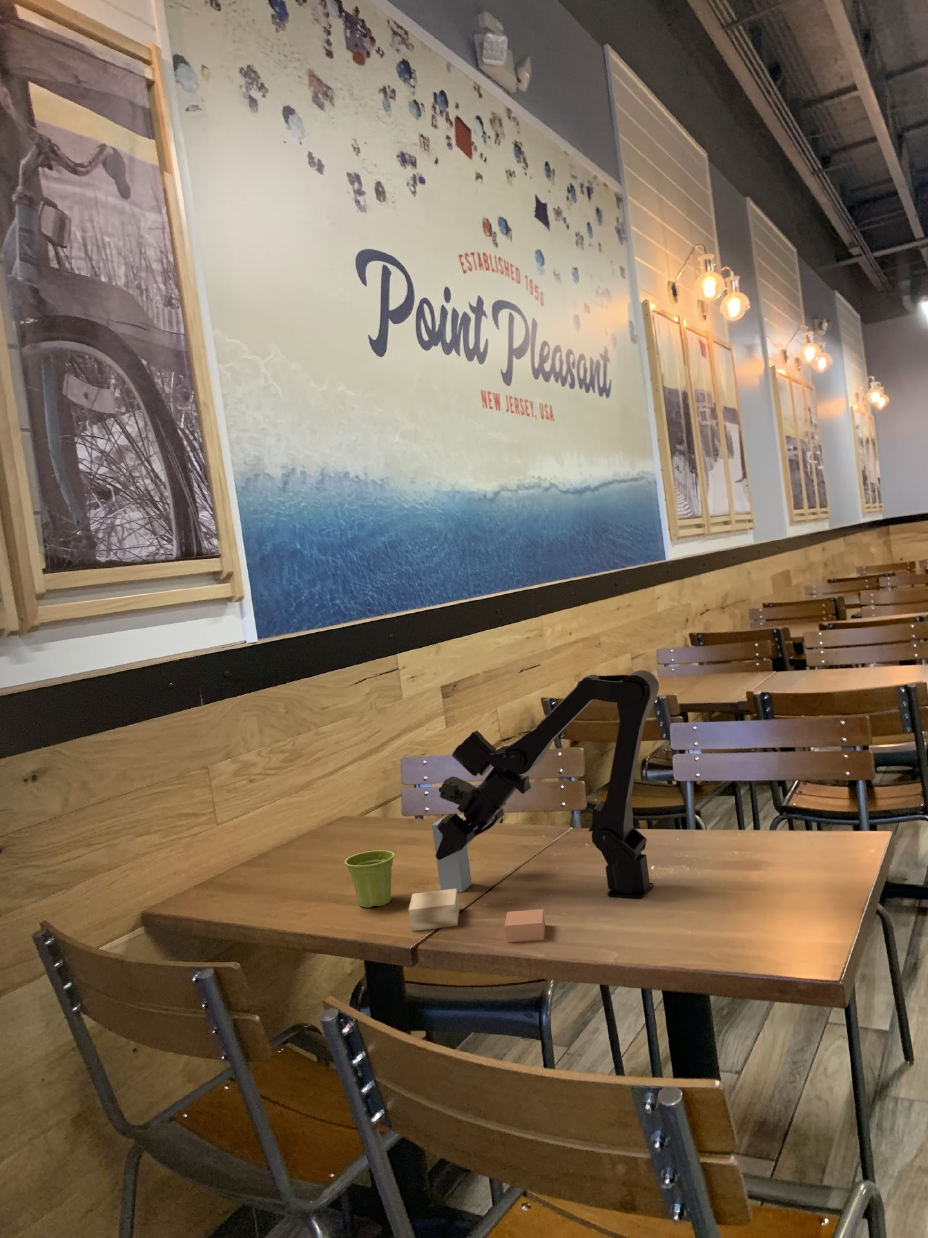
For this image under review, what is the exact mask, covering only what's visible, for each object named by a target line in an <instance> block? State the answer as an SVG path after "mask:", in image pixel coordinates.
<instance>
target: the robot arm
mask: <svg viewBox="0 0 928 1238" xmlns="http://www.w3.org/2000/svg"><path fill="white" fill-rule="evenodd" d="M659 690H660V683H659V681H658V679H657V678H656V676H655V675H654V674H653V673H652V672H650V671H648V670H642V669H640V670H634V671H633V672H632V673H631V674H615V675H614V674H611V675H610V674H609V675H599V674H598V675H597V674H589V675H587V676H585V677H583V678H581V679H579V681H578V683H577V684H576V685H575V687H573V689H572V690H571V691H569V693H568V694H566V696H565V697H564V698H563V699H562V700H561V701H560V702H559V703H558V704H557V705H556V706H555V707H554V708H553V709H552V710H551V711H550V712H549V713H548V714H547V716H545V717H544V719H543V720H541V722H539V724H537V725H536V726H535V727H534V728H532V729H531V730H530V731H528V732H527V733H525V734H524V735H522V736H521V737H519V738H517V739H516V740H515V741H513V742H512V743H510V744H509V745H505V746H504V745H503V746H501V747H499V748H496V747H495V746H493V744H492V743H491V742H489V741H488V739H486V738H485V737H484V736H483V735H482V733H481V732H479V730H474V731H472V732H471V733H470V735H469V736H468V737H466V738H465V739H464V740H463V741H462V743H461V744H459V745H457V747H456V748H455V749H454V750H453V752H452V753H451V757H452V758H453V759H454V760H455V761H457V762H458V763H459V764H460V765H461V766H462V767H463V769H465V770H466V771H467V772H468V773H470V775H472V777H477V776H478V775H479V776H480V777H484V776H485V775H486V774H487V773H488V772H489V773H488V774H487V776H486V777H485V778H484V779H483V781H482V782H481V783H480V784H479V785H478V786H477V787H476V786H475V785H473V784H472V783H470V782H468V781H465V780H464V779H461V778H459V777H457V776H450V777H448V778H446V779H444V780H443V783H441V786H440V787H439V788H438V792H439V797H440V798H441V799H442V800H445V801H448V802H450V803H452V804H455V805H457V806H458V807H456V809H457V810H458V811H459V812H460V813H462V814H463V817H461V816H460V815H458V813H449V814H448V815H446V816H445V817H442V818H443V819H442V820H441V822H440V823H439V824H438V826H437V828H438V830H439V831H440V832H441V833H442V840H441V843H440V845H439V848H438V851H437V853H436V852H435V858H436V860H437V859H438V860H441V859H443V858H445V857H447V856H449V855H451V854H453V853H455V852H458V851H460V850H462V849H464V848H465V847H466V846H467V847H468V846H469V845H470V843H471V842H472V841H473V840H474V839H475V837H477V836H479V835H480V834H482V833H484V832H485V831H488V830H490V829H491V828H492V827H494V826H495V825H496V824H498V822H500V821H501V819H502V818H503V817H504V816H505V812H504V808H505V806H506V805H507V801H508V800H509V799H510V798H511V796H512V795H513V794H514V793H515V792H516V790H517V791H518V792H519V793H521V794H523V795H524V794H526V793H527V792H528V791H529V790H531V789H532V787H531V783H530V776H529V775H524V774H526V773H528V772H529V771H530V770H532V769H533V768H534V767H537V765H539V764H540V763H541V761H543V759H544V758H545V756H546V754H547V753H548V751H550V749H551V748H550V747H551V746H552V744H553V742H554V741H555V740H556V738H557V737H558V736H559V735H560V734H561V733H562V732H563V731H564V730H565V729H566V728H567V727H568V726H569V725H570V724H571V723H572V722H573V721H574V720H575V719H576V718H577V717H578V716H579V715H580V714H581V713H582V712H583V711H584V709H586V708H587V707H588V706H589V705H590V704H591V703H592V702H593V701H601V702H606V703H616V709H617V714H618V720H619V723H618V724H619V725H618V729H617V730H618V731H617V735H616V736H617V737H616V742H615V747H614V753H613V759H612V764H611V771H610V775H609V781H608V782H609V783H608V788H607V792H606V799H605V800H601V801H600V802H599V803H598V804H597V805H596V806H594V807H593V809H592V814H591V815H592V816H591V817H592V818H591V819H592V820H591V826H590V828H589V829H588V832H591V841H592V843H593V844H594V846H595V848H596V849H598V851H600V852H601V854H602V856H603V858H604V860H605V862H606V864H607V865H606V866H605V867H604V868H605V874H606V882H607V888H608V890H609V891H607V893H606V894H607V896H608V897H618V898H631V899H634V898H635V899H642V898H643V897H645V895H647V893H648V892H650V890H651V889H652V888H653V887H655V884H654V882H650V876H649V874H650V873H649V866H648V859H647V858H648V857H647V854H643V853H642V852H643V851H644V850H645V849H646V845H647V841H648V839H647V837H645V836H644V835H643V833H641V832H640V831H639V830H637V829H636V828H635V827H634V825H633V824H634V821H633V820H634V812H633V808H632V799H631V798H632V794H633V789H634V781H635V777H636V771H637V767H638V761H639V755H640V749H641V744H642V739H643V733H644V728H645V723H646V722H647V720H648V717H649V715H650V713H651V711H652V708H653V706H654V704H655V701H656V699H657V696H658V693H659ZM492 767H493V768H492ZM491 768H492V769H491ZM490 769H491V770H490ZM489 770H490V771H489ZM462 818H463V819H462ZM464 818H465V819H464Z"/></svg>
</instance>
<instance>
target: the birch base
mask: <svg viewBox="0 0 928 1238" xmlns="http://www.w3.org/2000/svg"><path fill="white" fill-rule="evenodd" d="M408 916H409V923H410V924H409V925H410V931H411V932H415V931H423V930H425V931H426V930H432V929H440V928H448V927H449V928H450V927H457V926H459V916H460V905H459V895H458V892H457V888H456V889H448V890H441V889H440V890H434V891H433V890H432V891H425V892H418V893H417V892H415V893H412V895H411V898H410V903H409V906H408Z"/></svg>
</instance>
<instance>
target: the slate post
mask: <svg viewBox="0 0 928 1238" xmlns="http://www.w3.org/2000/svg"><path fill="white" fill-rule="evenodd" d="M443 818H444V817H442V818H440V819H438V820H437V821H435V822H434V823H433V824H431V828H432V834H433V842H434V843H433V844H434V851H435V854H436V853H437V851H438V848H439V845H440V843H441V840H442V833H441V832H440V831H439V830H438V828H437V826H438V824H439V823H440V822H441V820H442V819H443ZM461 818H462V819H463V820H464V817H461ZM468 852H469V851H468V846H466V847H465V848H464V849H462V850H460V851H458V852H455V853H453V854H451V855H449V856H447V857H445V858H443V859H441V860H438V859H437V858H436V865H437V872H438V873H437V874H438V879H439V886H440V890H448V889H456V888H457V893H463V892H464V891H465V890H467V889H468V888H469V887H470V886H471V885H472V884H473V883H472V874H471V867H470V859H469V853H468Z"/></svg>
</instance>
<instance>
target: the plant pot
mask: <svg viewBox="0 0 928 1238" xmlns="http://www.w3.org/2000/svg"><path fill="white" fill-rule="evenodd" d="M394 858H395V853H394V852H392V851H390V850H383V849H381V850H380V849H379V850H378V849H377V850H369V851H363V852H359V853H356V854H353V855H351V856H348V857H347V858H346V859H345V860H344V865H345V866H346V867H347V869H348V872H349V873H350V875H351V879H352V883H353V887H354V891H355V894H356V898H357V902H358V905H359V906H360V907H362V908H367V909H368V908H372V907H375V906H376V907H383V906H384V905H387V904H389V903H390V902H391V900H392V867H393V864H394V861H393V859H394Z"/></svg>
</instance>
